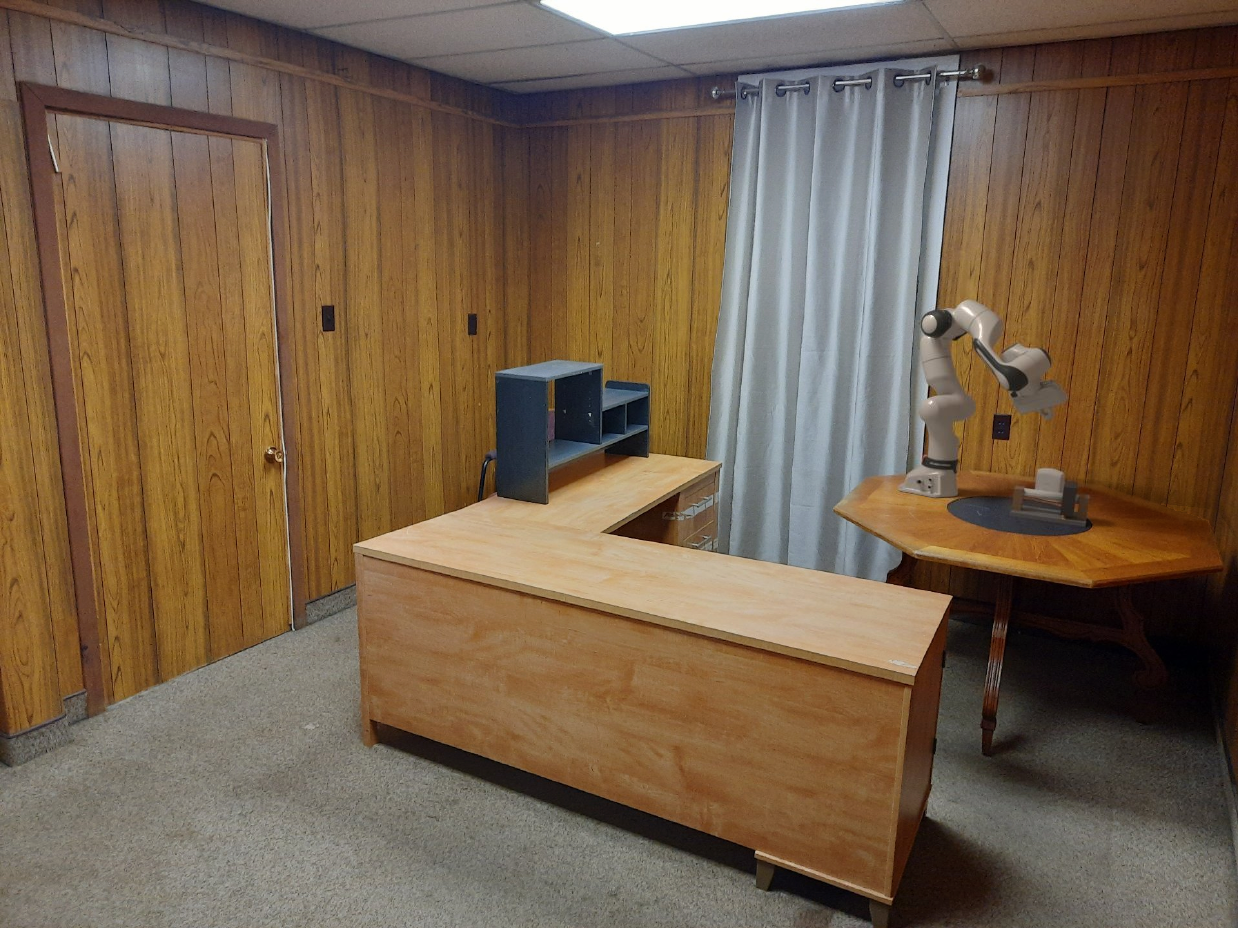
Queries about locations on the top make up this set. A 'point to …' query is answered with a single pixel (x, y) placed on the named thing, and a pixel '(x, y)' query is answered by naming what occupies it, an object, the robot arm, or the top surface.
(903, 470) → the top surface
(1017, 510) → the pipe rig
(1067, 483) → the collar
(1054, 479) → the photo printer
